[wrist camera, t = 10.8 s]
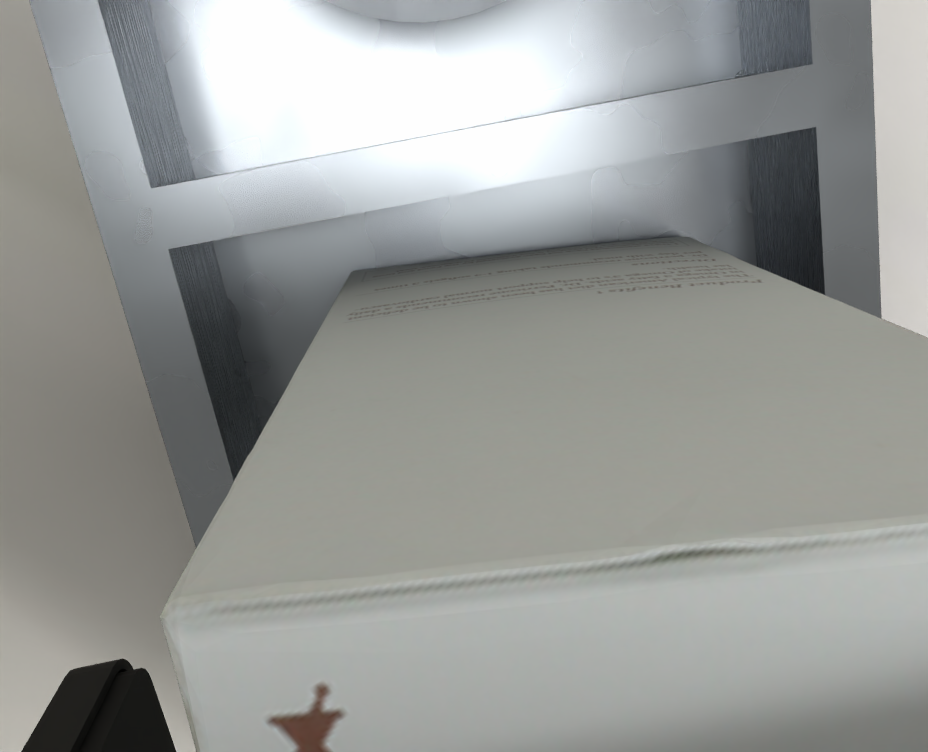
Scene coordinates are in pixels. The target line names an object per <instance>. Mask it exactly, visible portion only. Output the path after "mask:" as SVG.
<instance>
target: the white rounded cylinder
mask: <svg viewBox="0 0 928 752" xmlns="http://www.w3.org/2000/svg"><path fill="white" fill-rule="evenodd" d="M325 1H327V2H330V3H332V4H334V5H336V6H338V7H340V8H342V9H345V10H349V11H352V12H355V13H358V14H361V15H365V16H368V17H372V18H378V19H384V20H390V21H396V22H433V21H442V20H451V19H455V18H459V17H463V16H467V15H471V14H474V13H478V12H481V11H483V10H485V9H488V8H490V7H493V6H495V5H497V4H500V3H502V2H504V1H506V0H325Z"/></svg>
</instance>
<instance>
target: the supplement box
mask: <svg viewBox="0 0 928 752" xmlns="http://www.w3.org/2000/svg"><path fill="white" fill-rule="evenodd" d="M160 619H161V622H162V626H163V629H164V633H165V637H166V640H167V644H168V647H169V651H170V655H171V658H172V662H173V665H174V669H175V673H176V676H177V680H178V684H179V688H180V691H181V695H182V699H183V703H184V706H185V710H186V714H187V718H188V721H189V725H190V729H191V733H192V736H193V740H194V744H195V748H196V751H197V752H928V338H927V337H925V336H923V335H920V334H918V333H915V332H913V331H910V330H908V329H905V328H903V327H901V326H898V325H896V324H893V323H891V322H888V321H886V320H883V319H881V318H878V317H876V316H874V315H871V314H869V313H866V312H864V311H862V310H859V309H857V308H855V307H852V306H850V305H847V304H845V303H843V302H840V301H838V300H835V299H833V298H830V297H828V296H825V295H823V294H821V293H818V292H816V291H813V290H811V289H809V288H806V287H804V286H801V285H799V284H797V283H795V282H792V281H790V280H787V279H785V278H782V277H780V276H778V275H776V274H773V273H771V272H768V271H766V270H764V269H761V268H759V267H756V266H754V265H752V264H749V263H747V262H745V261H742V260H740V259H738V258H736V257H734V256H732V255H730V254H728V253H725V252H723V251H720V250H718V249H716V248H713V247H710V246H708V245H706V244H704V243H701V242H699V241H697V240H695V239H693V238H691V237H671V238H658V239H645V240H633V241H622V242H612V243H602V244H593V245H583V246H573V247H563V248H555V249H546V250H537V251H528V252H519V253H510V254H501V255H492V256H483V257H474V258H465V259H456V260H448V261H439V262H430V263H421V264H412V265H403V266H394V267H386V268H378V269H369V270H358V271H353V272H351V273H350V275H349V277H348V279H347V280H346V282H345V284H344V286H343V287H342V289H341V291H340V293H339V295H338V296H337V298H336V300H335V302H334V304H333V306H332V307H331V309H330V311H329V313H328V314H327V316H326V318H325V320H324V322H323V324H322V325H321V327H320V329H319V331H318V332H317V334H316V336H315V337H314V339H313V341H312V343H311V345H310V346H309V348H308V350H307V352H306V354H305V356H304V358H303V359H302V361H301V362H300V364H299V366H298V368H297V370H296V371H295V373H294V375H293V377H292V379H291V381H290V383H289V385H288V386H287V388H286V390H285V392H284V394H283V395H282V397H281V399H280V401H279V403H278V404H277V406H276V408H275V410H274V411H273V413H272V415H271V417H270V418H269V420H268V422H267V424H266V425H265V427H264V429H263V431H262V433H261V435H260V436H259V438H258V440H257V442H256V444H255V446H254V448H253V450H252V451H251V452H250V454H249V455H248V457H247V458H246V460H245V462H244V464H243V466H242V467H241V469H240V471H239V473H238V475H237V477H236V479H235V480H234V482H233V485H232V487H231V489H230V491H229V493H228V495H227V497H226V498H225V500H224V501H223V503H222V505H221V506H220V508H219V510H218V511H217V513H216V515H215V517H214V518H213V520H212V522H211V524H210V525H209V527H208V529H207V531H206V532H205V534H204V536H203V538H202V539H201V541H200V543H199V545H198V546H197V548H196V550H195V552H194V554H193V555H192V557H191V559H190V561H189V563H188V564H187V566H186V568H185V570H184V571H183V573H182V575H181V577H180V579H179V580H178V582H177V584H176V586H175V587H174V589H173V591H172V593H171V595H170V596H169V599H168V601H167V603H166V605H165V607H164V610H163V612H162V614H161V616H160Z"/></svg>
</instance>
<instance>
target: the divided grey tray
mask: <svg viewBox="0 0 928 752" xmlns="http://www.w3.org/2000/svg"><path fill="white" fill-rule="evenodd" d="M29 2H30V5H31V8H32V12H33V15H34V18H35V21H36V25H37V28H38V31H39V34H40V38H41V41H42V44H43V48H44V51H45V54H46V57H47V61H48V64H49V67H50V70H51V74H52V77H53V80H54V84H55V87H56V90H57V93H58V97H59V100H60V103H61V106H62V110H63V113H64V116H65V120H66V123H67V126H68V129H69V133H70V136H71V139H72V142H73V146H74V149H75V152H76V156H77V159H78V162H79V165H80V169H81V172H82V175H83V178H84V182H85V185H86V188H87V192H88V195H89V198H90V201H91V205H92V208H93V211H94V214H95V218H96V221H97V224H98V228H99V231H100V234H101V237H102V241H103V244H104V247H105V251H106V254H107V257H108V260H109V264H110V267H111V270H112V273H113V277H114V280H115V283H116V287H117V290H118V293H119V296H120V300H121V303H122V306H123V309H124V313H125V316H126V319H127V323H128V326H129V329H130V332H131V336H132V339H133V342H134V345H135V349H136V352H137V355H138V359H139V362H140V365H141V368H142V372H143V375H144V378H145V381H146V385H147V388H148V391H149V395H150V398H151V401H152V404H153V408H154V411H155V414H156V417H157V421H158V424H159V427H160V431H161V434H162V437H163V440H164V444H165V447H166V450H167V453H168V457H169V460H170V463H171V467H172V470H173V473H174V476H175V480H176V483H177V486H178V489H179V493H180V496H181V499H182V503H183V506H184V509H185V512H186V516H187V519H188V522H189V526H190V529H191V532H192V535H193V539H194V542H195V545H196V548H197V546H198V545H199V543H200V541H201V539H202V538H203V536H204V534H205V532H206V531H207V529H208V527H209V525H210V524H211V522H212V520H213V518H214V517H215V515H216V513H217V511H218V510H219V508H220V506H221V505H222V503H223V501H224V500H225V498H226V497H227V495H228V493H229V491H230V489H231V487H232V485H233V482H234V480H235V479H236V477H237V475H238V473H239V471H240V469H241V467H242V466H243V464H244V462H245V460H246V458H247V457H248V455H249V454H250V452H251V451H252V450H253V448H254V446H255V444H256V442H257V440H258V438H259V436H260V435H261V433H262V431H263V429H264V427H265V425H266V424H267V422H268V420H269V418H270V417H271V415H272V413H273V411H274V410H275V408H276V406H277V404H278V403H279V401H280V399H281V397H282V395H283V394H284V392H285V390H286V388H287V386H288V385H289V383H290V381H291V379H292V377H293V375H294V373H295V371H296V370H297V368H298V366H299V364H300V362H301V361H302V359H303V358H304V356H305V354H306V352H307V350H308V348H309V346H310V345H311V343H312V341H313V339H314V337H315V336H316V334H317V332H318V331H319V329H320V327H321V325H322V324H323V322H324V320H325V318H326V316H327V314H328V313H329V311H330V309H331V307H332V306H333V304H334V302H335V300H336V298H337V296H338V295H339V293H340V291H341V289H342V287H343V286H344V284H345V282H346V280H347V279H348V277H349V275H350V273H351V272H353V271H358V270H369V269H378V268H386V267H394V266H403V265H412V264H421V263H430V262H439V261H448V260H456V259H465V258H474V257H483V256H492V255H501V254H510V253H519V252H528V251H537V250H546V249H555V248H563V247H573V246H583V245H593V244H602V243H612V242H622V241H633V240H645V239H658V238H671V237H691V238H693V239H695V240H697V241H699V242H701V243H704V244H706V245H708V246H710V247H713V248H716V249H718V250H720V251H723V252H725V253H728V254H730V255H732V256H734V257H736V258H738V259H740V260H742V261H745V262H747V263H749V264H752V265H754V266H756V267H759V268H761V269H764V270H766V271H768V272H771V273H773V274H776V275H778V276H780V277H782V278H785V279H787V280H790V281H792V282H795V283H797V284H799V285H801V286H804V287H806V288H809V289H811V290H813V291H816V292H818V293H821V294H823V295H825V296H828V297H830V298H833V299H835V300H838V301H840V302H843V303H845V304H847V305H850V306H852V307H855V308H857V309H859V310H862V311H864V312H866V313H869V314H871V315H874V316H876V317H878V318H881V294H880V265H879V235H878V206H877V176H876V147H875V117H874V88H873V58H872V28H871V0H506V1H504V2H502V3H500V4H497V5H495V6H493V7H490V8H488V9H485V10H483V11H481V12H478V13H474V14H471V15H467V16H463V17H459V18H455V19H451V20H442V21H433V22H396V21H390V20H384V19H378V18H372V17H368V16H365V15H361V14H358V13H355V12H352V11H349V10H345V9H342V8H340V7H338V6H336V5H334V4H332V3H330V2H327V1H325V0H29Z"/></svg>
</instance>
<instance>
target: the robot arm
mask: <svg viewBox="0 0 928 752" xmlns="http://www.w3.org/2000/svg"><path fill="white" fill-rule="evenodd" d="M21 752H176V750H175V747H174V744H173V741H172V738H171V735H170V732H169V729H168V726H167V723H166V720H165V718H164V715H163V712H162V709H161V706H160V703H159V700H158V697H157V694H156V691H155V688H154V686H153V683H152V680H151V677H150V675H149V673H148V672H147V671H146V670H145V669H143V668H139V669H135V670H133V667H132V666H131V664H130V663H129V662H128V661H127V660H124V659H119V660H114V661H109V662H105V663H100V664H95V665H90V666H85V667H81V668H76V669H73V670H70V671H69V673H68V674H67V675H66V676H65V678H64V680H63V681H62V683H61V685H60V686H59V688H58V690H57V692H56V693H55V695H54V697H53V698H52V700H51V702H50V704H49V705H48V707H47V709H46V710H45V712H44V714H43V716H42V717H41V719H40V721H39V722H38V724H37V726H36V728H35V729H34V731H33V733H32V734H31V736H30V738H29V739H28V741H27V743H26V745H25V746H24V748H23V750H22V751H21Z"/></svg>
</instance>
